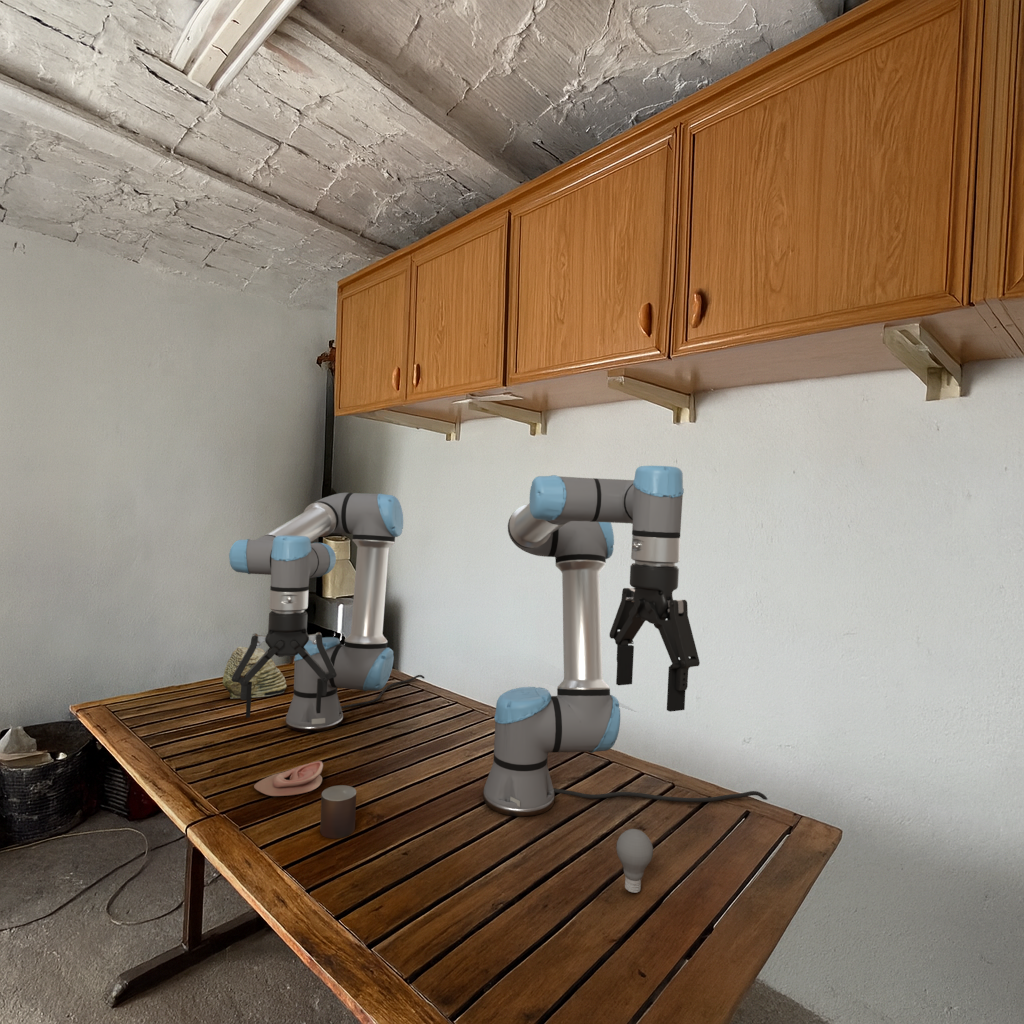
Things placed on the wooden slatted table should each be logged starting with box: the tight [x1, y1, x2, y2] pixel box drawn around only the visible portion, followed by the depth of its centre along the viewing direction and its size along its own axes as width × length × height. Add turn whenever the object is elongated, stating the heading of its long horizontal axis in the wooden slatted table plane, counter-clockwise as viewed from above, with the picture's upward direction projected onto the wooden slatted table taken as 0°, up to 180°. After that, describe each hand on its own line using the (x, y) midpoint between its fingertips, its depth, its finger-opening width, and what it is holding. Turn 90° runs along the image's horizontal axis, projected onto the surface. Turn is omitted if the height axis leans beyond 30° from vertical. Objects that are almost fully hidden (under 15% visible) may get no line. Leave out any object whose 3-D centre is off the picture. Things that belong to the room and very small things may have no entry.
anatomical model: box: [253, 760, 324, 797], centre depth 138 cm, size 13×4×12 cm
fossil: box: [222, 646, 288, 699], centre depth 198 cm, size 9×18×15 cm, turn 132°
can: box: [319, 784, 357, 840], centre depth 121 cm, size 6×6×7 cm
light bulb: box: [615, 828, 654, 894], centre depth 106 cm, size 6×6×10 cm
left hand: (283, 713), depth 131 cm, fingers open, 13 cm apart
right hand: (648, 696), depth 101 cm, fingers open, 13 cm apart
